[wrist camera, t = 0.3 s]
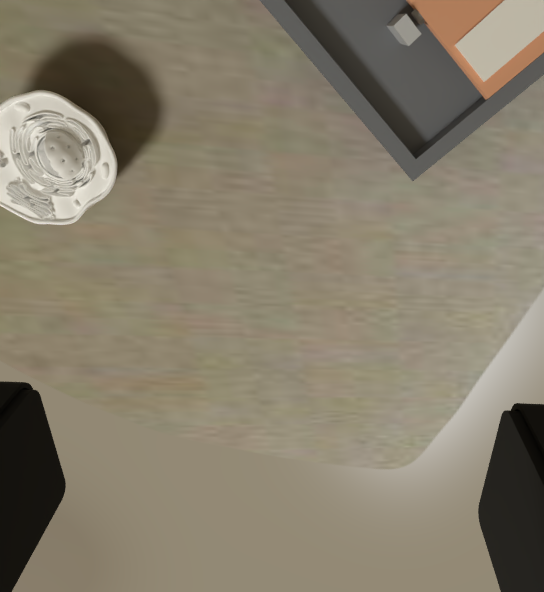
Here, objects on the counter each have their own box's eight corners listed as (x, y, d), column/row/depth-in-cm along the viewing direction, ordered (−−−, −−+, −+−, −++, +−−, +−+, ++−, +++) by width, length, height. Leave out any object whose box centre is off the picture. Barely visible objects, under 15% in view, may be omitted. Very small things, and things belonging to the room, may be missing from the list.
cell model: (-20, 110, 43) (-75, 125, 37) (105, 67, 41) (68, 75, 35) (38, 220, 48) (-3, 249, 42) (154, 187, 45) (128, 213, 39)
